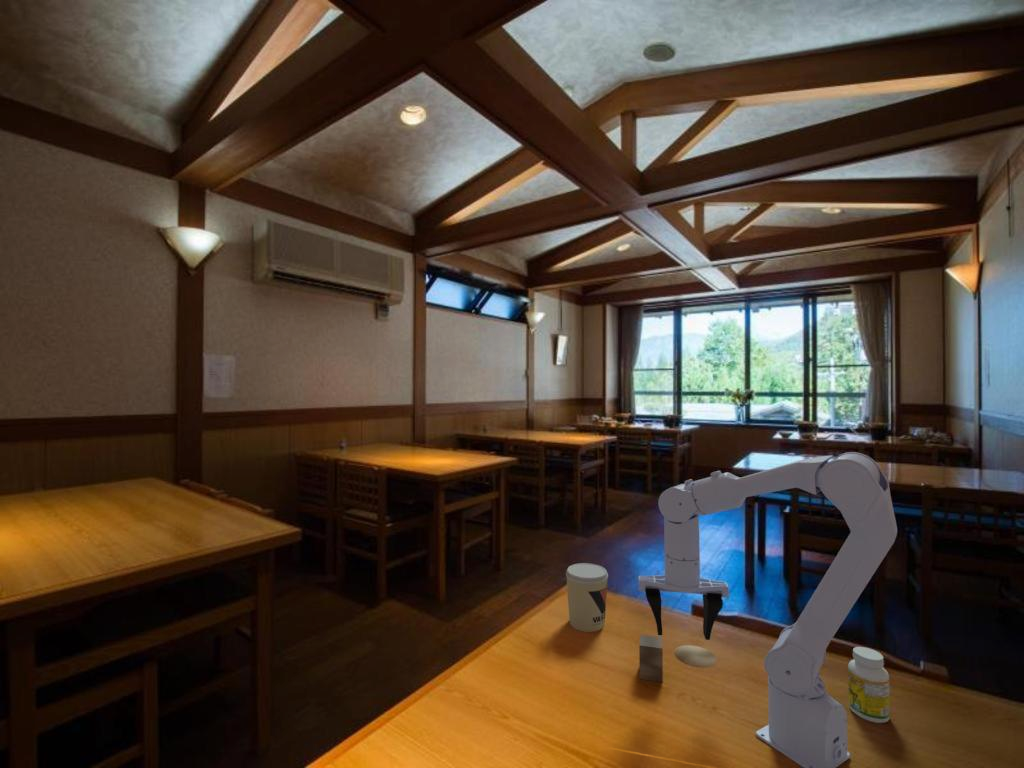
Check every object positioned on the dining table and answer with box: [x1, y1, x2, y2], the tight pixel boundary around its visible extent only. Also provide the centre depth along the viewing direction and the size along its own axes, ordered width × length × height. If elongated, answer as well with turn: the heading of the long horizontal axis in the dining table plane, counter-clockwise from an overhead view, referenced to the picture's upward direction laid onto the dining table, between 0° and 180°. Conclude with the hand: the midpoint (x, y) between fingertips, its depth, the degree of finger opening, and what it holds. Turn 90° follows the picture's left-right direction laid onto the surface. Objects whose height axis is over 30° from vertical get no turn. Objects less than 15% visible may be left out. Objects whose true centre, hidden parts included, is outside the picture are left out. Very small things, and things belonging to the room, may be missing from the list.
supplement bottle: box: [847, 646, 891, 724], centre depth 78 cm, size 5×5×10 cm
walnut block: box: [638, 634, 664, 683], centre depth 88 cm, size 4×4×6 cm
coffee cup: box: [565, 562, 609, 633], centre depth 107 cm, size 9×9×12 cm
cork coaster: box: [674, 644, 717, 668], centre depth 94 cm, size 8×8×1 cm
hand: (682, 634), depth 82 cm, fingers open, 7 cm apart
